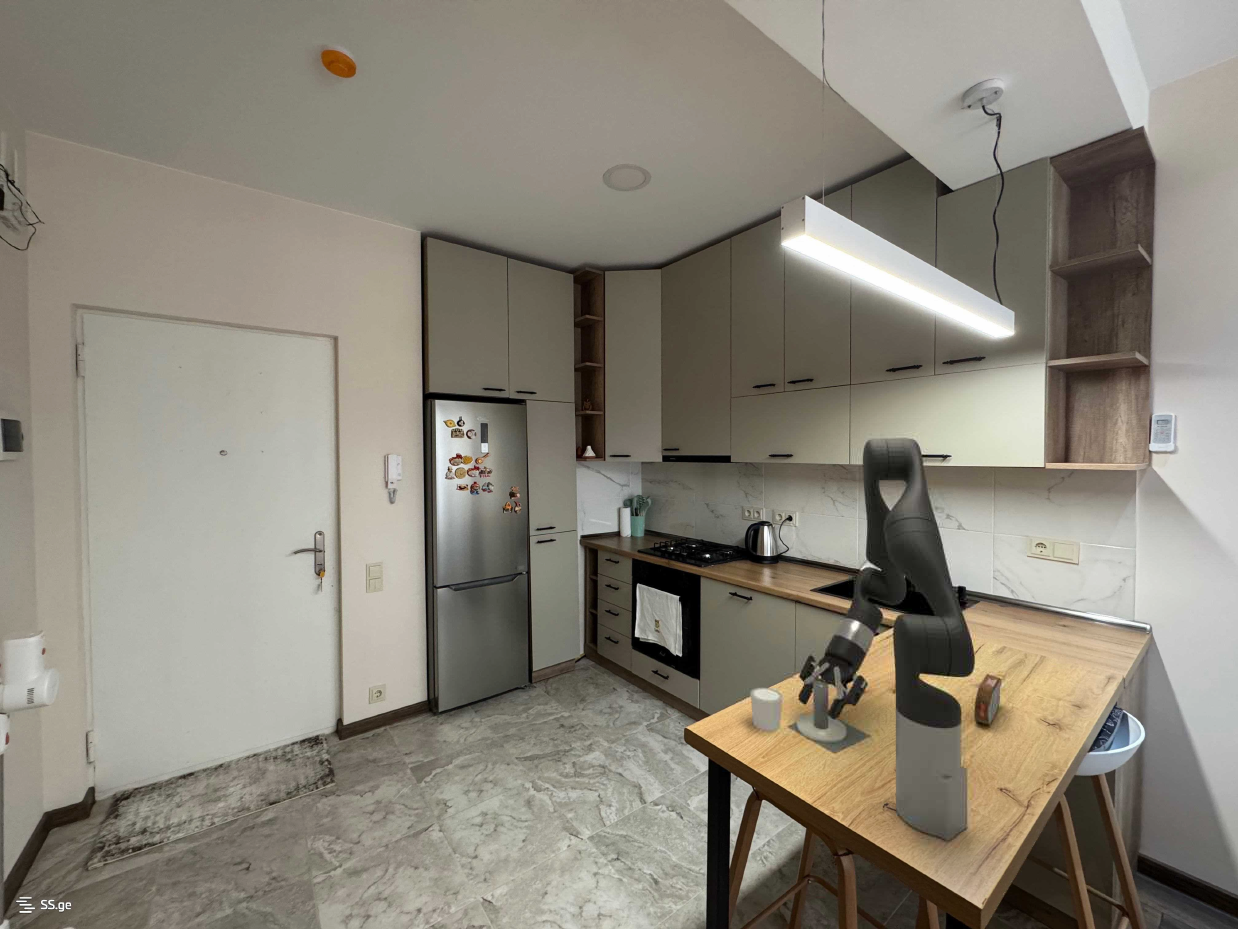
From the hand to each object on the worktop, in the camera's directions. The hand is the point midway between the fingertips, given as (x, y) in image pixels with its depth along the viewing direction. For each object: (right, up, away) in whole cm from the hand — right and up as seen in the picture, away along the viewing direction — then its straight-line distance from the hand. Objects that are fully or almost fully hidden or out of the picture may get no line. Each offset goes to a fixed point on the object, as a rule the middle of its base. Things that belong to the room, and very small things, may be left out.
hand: (816, 709), depth 109 cm
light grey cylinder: (-10, -5, +4) cm, 12 cm away
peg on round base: (+1, -5, +1) cm, 5 cm away
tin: (+41, -5, +6) cm, 42 cm away
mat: (+3, -5, +1) cm, 6 cm away
